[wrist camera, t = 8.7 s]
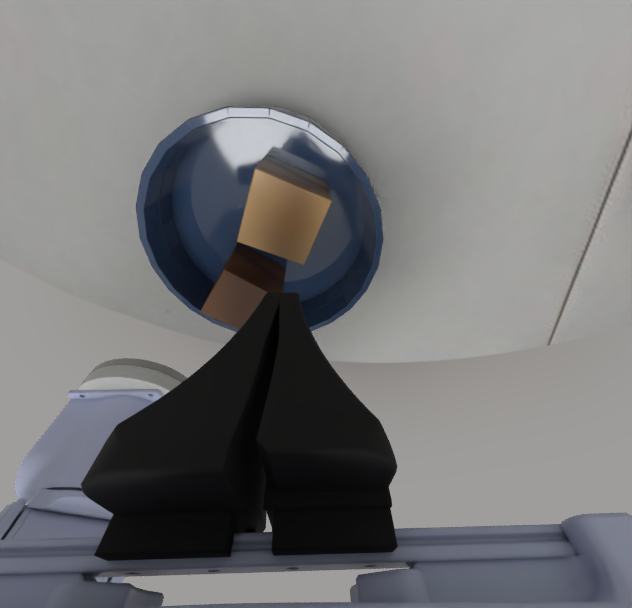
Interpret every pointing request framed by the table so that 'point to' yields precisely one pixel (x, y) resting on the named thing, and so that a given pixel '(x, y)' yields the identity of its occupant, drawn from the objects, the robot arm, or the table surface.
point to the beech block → (283, 210)
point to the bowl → (230, 199)
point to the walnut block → (242, 286)
